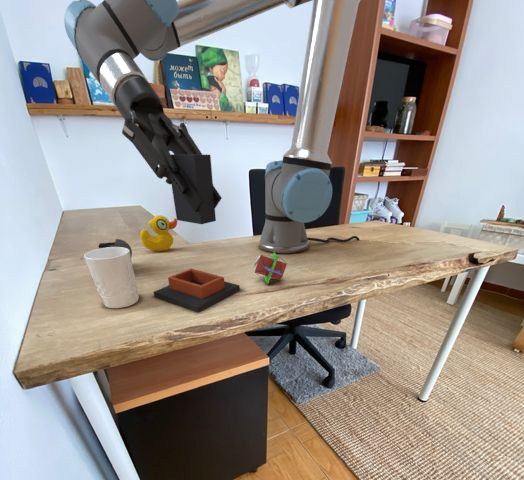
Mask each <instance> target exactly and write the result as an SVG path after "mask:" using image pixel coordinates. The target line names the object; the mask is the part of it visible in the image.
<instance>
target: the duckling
mask: <svg viewBox="0 0 524 480" xmlns="http://www.w3.org/2000/svg"><path fill="white" fill-rule="evenodd" d="M177 225H178V220H177V217H176V218H174V219H173V220H171V221H169V219H168V217H166V216H164V215H160V214H159V215H155V216H154V217H152V218H151V219H150V220H149V221H148V226H149V228H151V230H152V231H153V232H154V233H156V235H155V236H153V235H152V236H151V234H150V232H149V231H148V229H146V228H143V229H142V230H141V231H140V235H139V237H140V241H141V244H142V245H143V247H145V249H147V250H150V251H153V252H165V251H168V250H169V249H170V248H171V247H172V246H173V244H174V237H173V235H172V234H171V233H170V232H169V230H174V229H175V228H176V227H177Z"/></svg>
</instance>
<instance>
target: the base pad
mask: <svg viewBox="0 0 524 480" xmlns="http://www.w3.org/2000/svg"><path fill="white" fill-rule="evenodd" d="M167 282H168V285H167V286H164V287H161V288H159V289H157V290H155V291H153V297H154V298H157V299H160V300H162V301H165V302H168V303H170V304H173V305H176V306H179V307H182V308H184V309H187V310H190V311H193V312H196V313H200V312H202V311H204V310H206V309H207V308H209V307H211V306H213V305H216V304H217V303H219V302H221V301H223V300H224V299H226V298H229V297H230V296H232V295H234V294H236V293H237V292H239V291H241V287H240V284H236V283H233V282H228V281H226V280H225V276H221V275H217V274H213V273H209V272H206V271H202V270H199V269H196V268H195V269H194V268H189V269H187V270H186V269H185V270H184V271H180V272H179V273H175V274H173V275H170V276H168V277H167Z"/></svg>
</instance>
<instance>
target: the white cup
mask: <svg viewBox="0 0 524 480" xmlns="http://www.w3.org/2000/svg"><path fill="white" fill-rule="evenodd" d="M83 258H84V261H85V263H86V266H87V268H88V270H89V271H88V272H89V273H90V276H91V278H92V281H93V283H94V286H95V288H96V290H97V292H98V294H99V296H100V298H101V301H102V303H103V306H105V307H106V308H109V309H121V308H126V307H130V306H133V305H134V304H136V303H138V302H139V297H140V295H139V292H138V287H137V280H136V275H135V270H134V265H133V260H132V257H131V255H130V251H129V249H127V248H123V247H107V248H97V249H92V250H89V251H87V252H85V253H84V254H83Z"/></svg>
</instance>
